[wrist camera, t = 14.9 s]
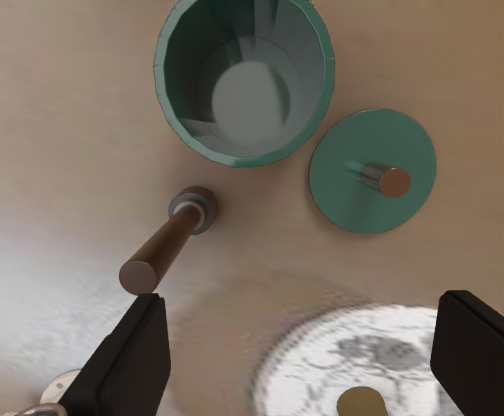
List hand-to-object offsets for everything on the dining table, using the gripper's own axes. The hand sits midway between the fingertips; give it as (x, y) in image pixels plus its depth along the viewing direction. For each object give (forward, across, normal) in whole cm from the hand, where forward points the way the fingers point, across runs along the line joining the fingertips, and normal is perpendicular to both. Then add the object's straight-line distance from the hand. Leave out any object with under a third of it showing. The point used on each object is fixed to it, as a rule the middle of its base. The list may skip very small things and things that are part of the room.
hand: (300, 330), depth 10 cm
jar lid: (+21, -10, -2) cm, 24 cm away
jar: (+22, +2, -10) cm, 24 cm away
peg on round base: (+22, +8, +1) cm, 23 cm away
